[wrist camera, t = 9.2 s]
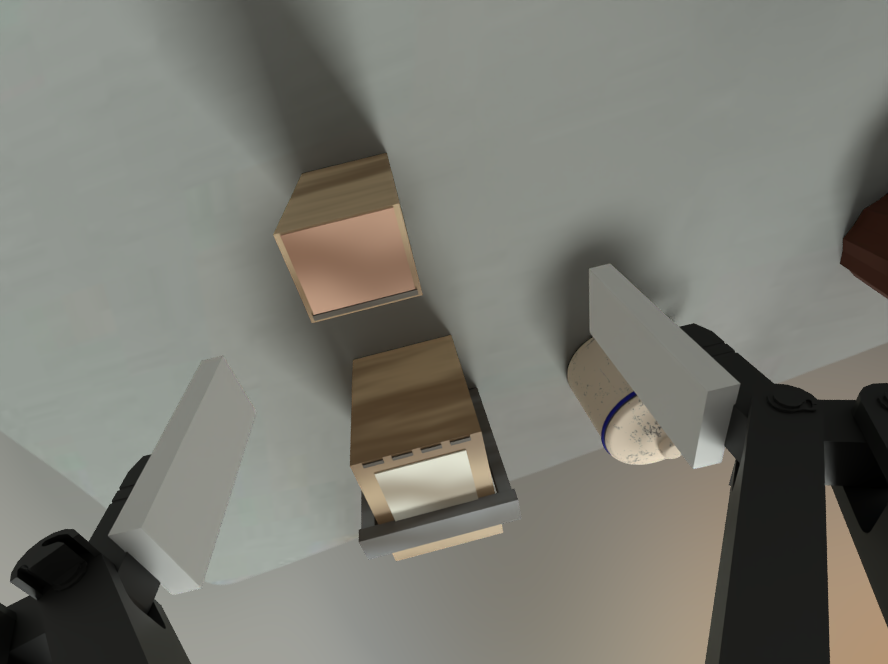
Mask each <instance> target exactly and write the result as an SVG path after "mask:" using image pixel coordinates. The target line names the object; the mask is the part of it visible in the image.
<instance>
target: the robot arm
mask: <svg viewBox="0 0 888 664" xmlns="http://www.w3.org/2000/svg"><path fill="white" fill-rule="evenodd" d="M589 324H590V333H591V335H592V336H593V337H594V339H595V340H596V341H597V343H598V344H599V345H600V347H601V348H602V349H603V351H604V352H605V353H606V355H607V356H608V357H609V359H610V360H611V361H612V363H613V364H614V365H615V367H616V368H617V369H618V371H619V372H620V373H621V375H622V376H623V377H624V379H625V380H626V381H627V382H628V384H629V385H630V386H631V388H632V389H633V390H634V392H635V393H636V394H637V396H638V397H639V398H640V400H641V401H642V402H643V404H644V405H645V406H646V408H647V409H648V410H649V412H650V413H651V414H652V416H653V417H654V418H655V420H656V421H657V422H658V424H659V425H660V426H661V428H662V429H663V430H664V432H665V433H666V434H667V436H668V437H669V438H670V439H671V441H672V442H673V443H674V445H675V446H676V447H677V449H678V450H679V451H680V453H681V454H682V455H683V457H684V458H685V459H686V461H687V462H688V463H689V465H690V466H691V467H692V469H696V468H701V467H705V466H708V465H713V464H717V463H721V462H722V458H723V453H724V449H725V447H726V448H727V449H728V450H729V452H730V453H731V454H732V455H733V456H734V457H735V458H736V460H735V464H734V468H733V472H732V476H731V479H730V483H729V485H730V486H731V489H730V496H729V503H728V510H727V517H726V524H725V530H724V538H723V544H722V551H721V558H720V565H719V572H718V579H717V586H716V592H715V599H714V606H713V613H712V619H711V626H710V633H709V640H708V647H707V653H706V660H705V664H830V652H829V651H830V649H829V615H828V614H829V612H828V575H827V537H826V500H825V485H831V486H832V489H833V491H834V494H835V496H836V499H837V501H838V504H839V506H840V509H841V511H842V514H843V516H844V519H845V521H846V524H847V527H848V529H849V531H850V534H851V537H852V539H853V542H854V544H855V547H856V549H857V552H858V554H859V556H860V559H861V562H862V564H863V567H864V569H865V572H866V574H867V577H868V579H869V582H870V584H871V587H872V589H873V592H874V594H875V597H876V599H877V602H878V604H879V607H880V609H881V612H882V614H883V617H884V619H885V622H886V624H887V627H888V383H879V384H871V385H868V386H866V387H863V389H862V390H861V392H860V393H859V395H858V397H857V400H817V399H816V398H815V397H814V396H813V395H812V394H810V393H808V392H806V391H804V390H802V389H800V388H797V387H793V386H790V385H784V384H774V383H773V382H771V381H770V380H769V379H768V378H767V377H765V376H764V375H763V374H762V373H761V372H760V371H758V370H757V369H756V368H755V367H754V366H752V365H751V364H750V363H749V362H748V361H747V360H745V359H744V358H743V357H742V356H741V355H739V354H738V353H735V350H734V349H732V348H731V347H730V346H729V345H728V344H725V343H724V341H723V340H722V339H721V338H719V337H718V336H717V335H716V334H715V333H713V332H712V331H710V330H708V329H706V328H704V327H701V326H699V325H697V324H689V325H685V326H681V327H679V326H677V325H676V324H675V323H674V322H673V321H672V320H671V319H670V318H669V317H668V316H667V315H666V314H664V313H663V312H662V311H661V310H660V309H659V308H658V307H657V306H656V305H655V304H654V303H653V302H651V301H650V300H649V299H648V298H647V297H646V296H645V295H644V294H643V293H642V292H641V291H640V290H638V289H637V288H636V287H635V286H634V285H633V284H632V283H631V282H630V281H629V280H628V279H626V278H625V277H624V276H623V275H622V274H621V273H620V272H619V271H618V270H617V269H616V268H615V267H613V266H612V265H611V264H606V265H602V266H597V267H593V268H589ZM255 415H256V410H255V408H254V407H253V405H252V403H251V401H250V400H249V398H248V396H247V395H246V393H245V391H244V390H243V388H242V386H241V385H240V383H239V381H238V380H237V378H236V376H235V375H234V373H233V371H232V369H231V368H230V366H229V364H228V363H227V361H226V359H225V358H224V356H219V357H215V358H211V359H207V360H202V361H201V363H200V365H199V367H198V369H197V370H196V372H195V374H194V376H193V378H192V380H191V382H190V383H189V385H188V387H187V389H186V391H185V393H184V395H183V396H182V398H181V400H180V402H179V404H178V406H177V408H176V410H175V411H174V413H173V415H172V417H171V419H170V421H169V423H168V424H167V426H166V428H165V430H164V432H163V434H162V436H161V437H160V439H159V441H158V443H157V445H156V447H155V449H154V451H153V452H152V454H151V455H147V456H143V457H142V458H141V459H140V460H139V461H138V462H137V463H136V464H135V465H134V466H133V468H132V469H131V470H130V471H129V472H128V473H127V475H126V477H125V479H124V480H123V482H122V484H121V486H120V487H119V488H120V491H117V493H116V494H115V496H114V498H113V500H112V504H110V505H109V507H108V509H107V510H106V512H105V514H104V516H103V517H102V519H101V521H100V523H99V524H98V526H97V528H96V530H95V531H94V533H93V535H92V537H91V539H90V540H89V542H88V541H87V540H86V539H84V538H83V537H82V536H81V535H80V534H79V533H77V532H76V531H75V530H74V529H64V530H61V531H58V532H55V533H53V534H51V535H49V536H47V537H45V538H44V539H42V540H40V541H39V542H38V543H37V544H35V545H34V546H33V547H32V548H30V549H29V550H28V551H27V552H26V553H25V555H24V556H23V557H22V558H21V559H20V560H19V561H18V562H17V564H16V566H15V567H14V569H13V571H12V573H11V579H10V582H11V583H12V584H14V585H15V586H17V587H18V588H20V589H21V590H23V591H24V592H26V593H27V594H29V596H28V597H26V598H23V599H21V600H20V601H18V602H16V603H14V604H12V605H10V606H8V607H6V606H4V605H3V604H1V603H0V664H191V663H190V661H189V659H188V657H187V655H186V653H185V651H184V649H183V647H182V645H181V643H180V641H179V640H178V637H177V635H176V633H175V631H174V630H173V627H172V626H171V624H170V622H169V620H168V618H167V616H166V614H165V612H164V610H163V608H162V606H161V605H160V604H159V603H158V602H157V601H156V600H155V599H154V598H155V596H156V593H157V591H158V588H159V585H160V584H161V585H162V586H163V587H164V588H165V589H166V590H167V591H168V592H170V593H171V594H172V595H175V594H180V593H184V592H187V591H192V590H196V589H200V588H202V584H203V582H204V578H205V575H206V572H207V569H208V566H209V563H210V559H211V556H212V553H213V550H214V547H215V543H216V540H217V537H218V534H219V531H220V527H221V524H222V521H223V518H224V515H225V511H226V508H227V505H228V502H229V499H230V495H231V492H232V489H233V486H234V483H235V479H236V476H237V473H238V470H239V467H240V463H241V460H242V457H243V454H244V451H245V447H246V444H247V441H248V438H249V435H250V431H251V428H252V425H253V422H254V419H255Z"/></svg>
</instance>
